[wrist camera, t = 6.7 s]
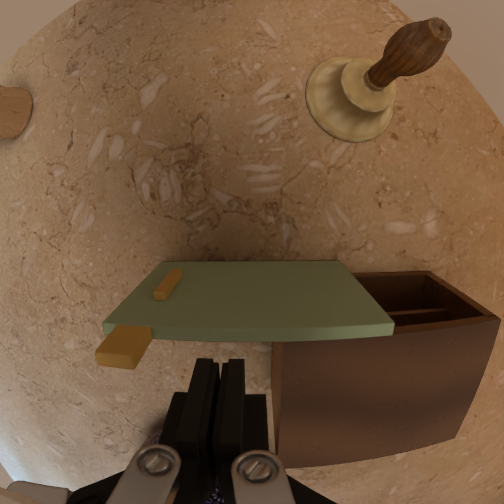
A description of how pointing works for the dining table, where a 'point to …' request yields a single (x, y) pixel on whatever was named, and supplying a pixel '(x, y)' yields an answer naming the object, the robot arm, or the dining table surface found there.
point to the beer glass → (14, 111)
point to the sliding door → (241, 307)
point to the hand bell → (371, 81)
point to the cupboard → (383, 376)
